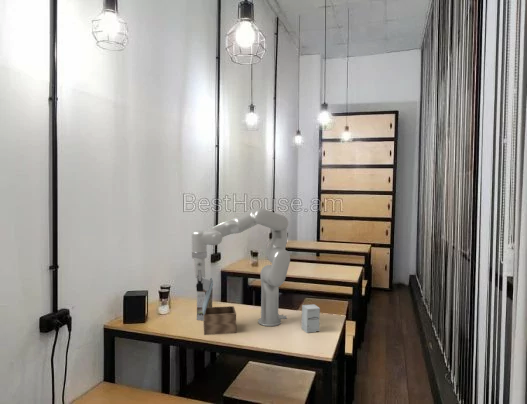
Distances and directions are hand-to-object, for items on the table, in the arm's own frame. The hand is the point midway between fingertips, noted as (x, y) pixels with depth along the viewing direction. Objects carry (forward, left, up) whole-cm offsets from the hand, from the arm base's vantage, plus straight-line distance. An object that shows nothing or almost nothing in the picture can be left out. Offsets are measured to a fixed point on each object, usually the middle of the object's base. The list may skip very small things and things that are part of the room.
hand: (199, 290), depth 189 cm
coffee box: (-3, -19, -21) cm, 29 cm away
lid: (-4, 0, -3) cm, 5 cm away
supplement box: (-57, +8, -21) cm, 62 cm away
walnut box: (-10, 0, -21) cm, 23 cm away
